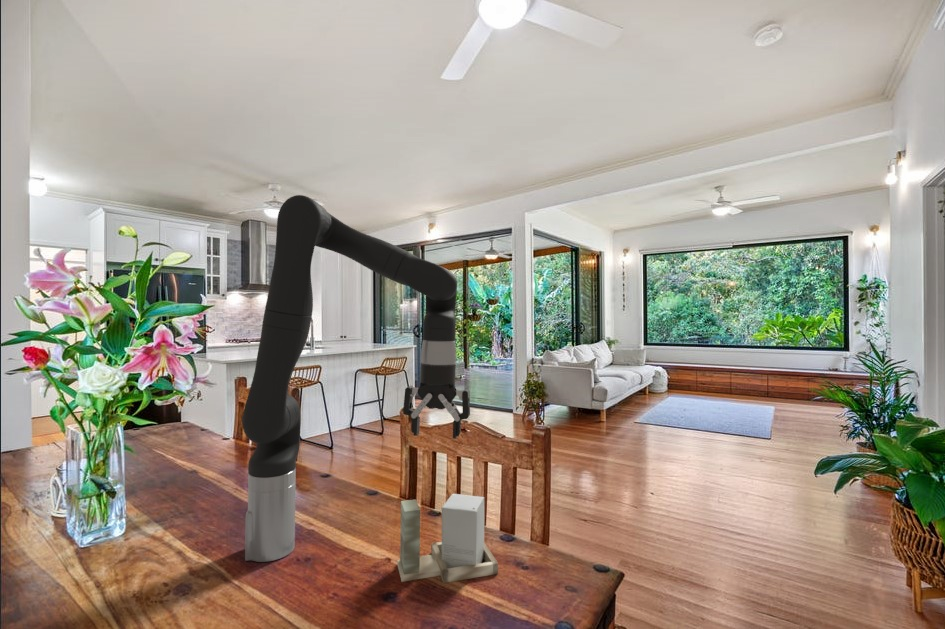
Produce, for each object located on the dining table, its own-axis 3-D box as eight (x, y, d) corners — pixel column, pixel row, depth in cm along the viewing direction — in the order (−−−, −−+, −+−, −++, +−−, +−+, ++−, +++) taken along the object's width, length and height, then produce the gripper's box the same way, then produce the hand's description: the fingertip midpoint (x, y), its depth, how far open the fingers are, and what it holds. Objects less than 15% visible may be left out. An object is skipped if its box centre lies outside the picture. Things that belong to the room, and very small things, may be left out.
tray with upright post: (403, 589, 81) (404, 519, 81) (395, 557, 92) (396, 495, 92) (498, 573, 87) (498, 507, 87) (480, 545, 97) (481, 486, 97)
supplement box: (485, 556, 93) (486, 496, 93) (476, 576, 86) (476, 511, 86) (451, 551, 95) (452, 492, 95) (440, 570, 88) (440, 506, 88)
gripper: (401, 361, 93) (398, 438, 93) (468, 364, 91) (465, 443, 91) (411, 358, 100) (408, 429, 100) (473, 361, 98) (470, 434, 98)
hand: (435, 436), depth 96 cm, fingers open, 8 cm apart
